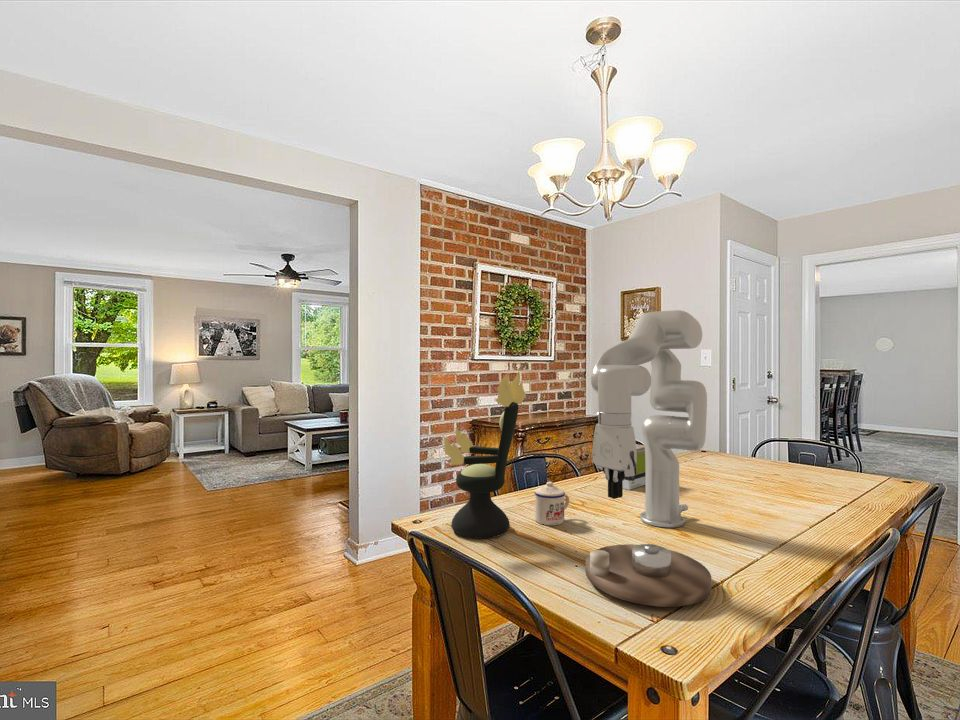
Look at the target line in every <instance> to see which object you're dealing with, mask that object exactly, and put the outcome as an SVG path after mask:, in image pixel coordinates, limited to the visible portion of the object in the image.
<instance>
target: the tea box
mask: <svg viewBox="0 0 960 720" xmlns="http://www.w3.org/2000/svg"><path fill="white" fill-rule="evenodd" d="M636 451H637V463H636V468H634V472H635V475H634V476H630V477H626V478H625V480H624V481H623V489H624V490H628V491H631V490H633V489H636V488H640V487H642V486H645V446H644V444H638V443H636ZM619 473H620V472H619ZM606 481H607V482H608V480H606Z"/></svg>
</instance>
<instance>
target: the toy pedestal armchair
mask: <svg viewBox="0 0 960 720" xmlns="http://www.w3.org/2000/svg"><path fill="white" fill-rule="evenodd" d="M520 379H521V378H520V374H519V373H518V372H517V374H516V375H515V376H514V378H513V380H512V382H511V383H510V377H509V375H508V374H507V375H506V374H504V375H503V377H502V380H501V381H500V383H499V384H498V386H497V388H496V390H497V393H498V397H497V398H494V401H495V402H496V403H497V404H499V405H501V406H503V407H505V408H504V411H503V412H502V413H501V415H500V417H499V422H498V423H499V428H500V431H501V433H500V439H499V445H498V447H491V446H490V447H489V446H488V447H487V446H478V445H477V446H476V445H475V446H474V444H473V442H472V441H471V439H470V438H469V436H468V435H467V434H466V433H464V432H462V431H461V430H460V429H458V428H457V427H455V442H454V441H452V443H451V442H450V440H449V438H448V437H445V436H444V437H443V441H444V454H445V455H447V456H448V457H450V462H449V464H448V465H449V466H453V465H454V466H456V465H463V464H464V465H468V466H466V467H464V468H463V470H461V472H459V473H458V474H457V476H456V478H455V483H456V486H457V487H458V489H460V490H461V491H464V492H467V493H469V495H470V496H469V499H468V501H467V503H465V504H463V506H462V507H461V508H460V509H459V510H458V511H457V512H456V513H455V514H454V515H453V518H452V519H451V523H450V526H451V529H452V530H453V531H454V533H456V534H458V535H459V536H462V537H464V538H471V539H491V538H496V537H499V536H502V535H504V534H505V533H506V532H508V530H509V529H510V519H509V517H508V515H507V514H506V512H504V511H503V510H502V509H501V507H499V506H498V505H497V504H496V503H495V502H494V501H493V500H492V497H491V493H494V492H497V491H499V490H500V489H502V488H503V486H504V485H505V481H506V480H505V476H506V469H507V463H508V458H509V455H510V454H509V453H510V449H511V445H512V440H513V436H514V432H515V430H516V429H515V428H516V424H517V420H518V415H519V405H521V404H522V403H523V402H524V400H525V398H526V397H527V394H526V392H525V390H524V385H523V381H521V382H520ZM455 443H456V444H455ZM457 445H458V446H457ZM459 446H460V448H459ZM462 453H463V454H462ZM464 454H476V455H469V456H466V455H465V456H464ZM489 464H495V466H492V465H489Z"/></svg>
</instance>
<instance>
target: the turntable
mask: <svg viewBox="0 0 960 720" xmlns="http://www.w3.org/2000/svg"><path fill="white" fill-rule="evenodd" d="M636 545H637V544H613V545H608V546H603V547H600V548H597V549H594V550H591V551H590V552H589V554H588V555H587V556H586V558H585V575H586V577H587V579H588V580H589V582H590V583H591V584H592V585H593V586H594V587H596V588H597V589H599V590H600V591H601V592H604V593H606V594H607V595H609V596H612V597H615V598H617V599H620V600H623V601H627V602H630V603H635V604H640V605H645V606H652V607H663V608H665V607H666V608H668V607H683V606H684V607H685V606H691V605H694V604H696V603H699V602H702V601H704V600H705V599H707V598H708V597H709V596H710V594H711V592H712V574H711V572H710V571H709V570H708V568H707V567H705V565H703V564H702V563H701V562H699V561H698V560H696V559H694V558H692V557H690V556H688V555H685V554H683V553H681V552H678V551H674V550H672V549H668V550H669V551H670V552H671V574H670V575H669V576H667V577H664V578H652V577H646V576H643V575H640V574H638V573H636V572H635V571H634V570H633V569H632V548H633V547H634V546H636Z"/></svg>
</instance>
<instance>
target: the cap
mask: <svg viewBox="0 0 960 720" xmlns="http://www.w3.org/2000/svg"><path fill="white" fill-rule="evenodd" d="M635 545H636V546H634V547H633V548H632V569H633V570H634V571H635V572H636V573H638V574H640V575H643V576H646V577H652V578H664V577H667V576H669V575H670V574H671V552H670V551H669V550H670V549H668V548H665V547H664V546H661V545H657V544H652V543H642V544H635Z"/></svg>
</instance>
